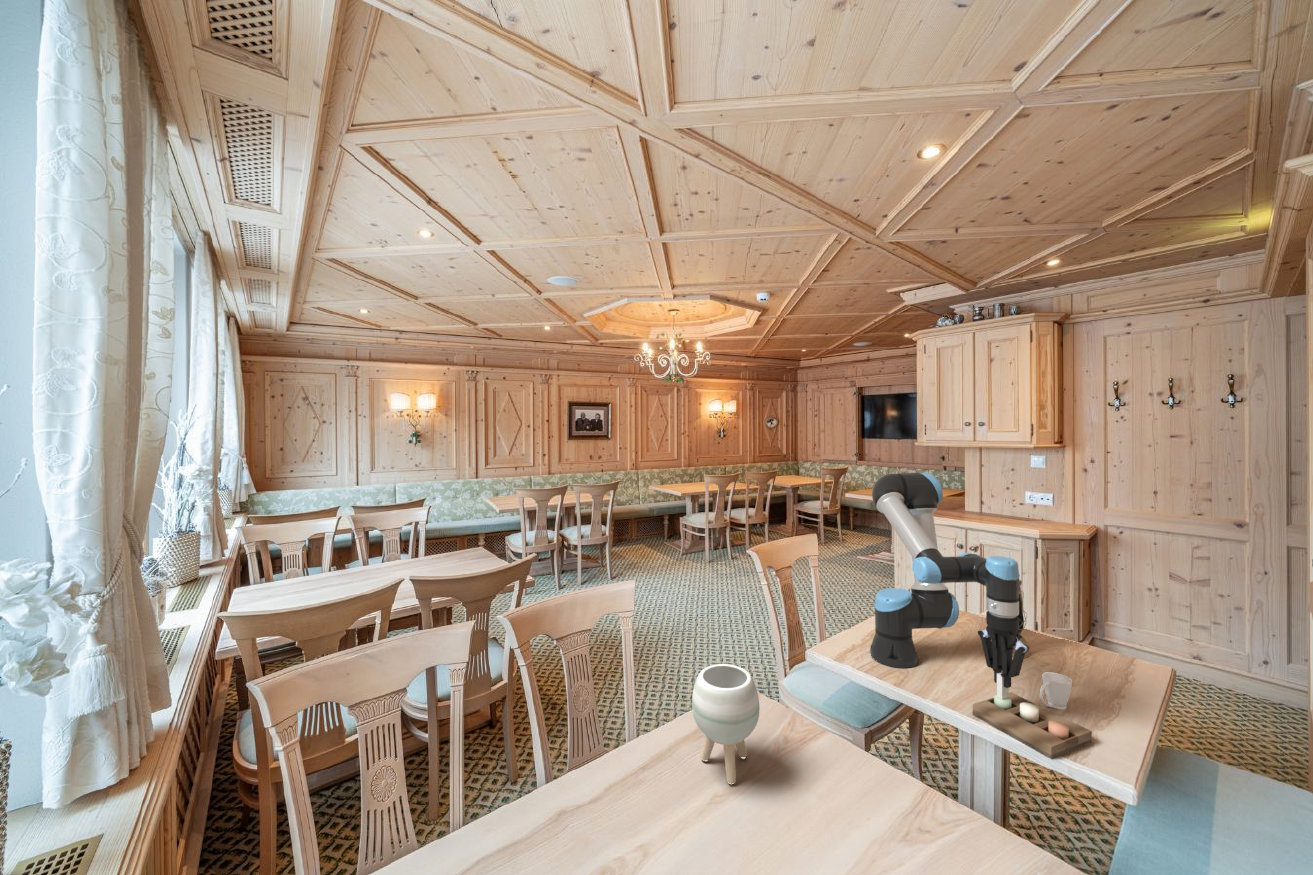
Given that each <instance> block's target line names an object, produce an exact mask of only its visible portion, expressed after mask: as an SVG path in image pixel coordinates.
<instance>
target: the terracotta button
mask: <svg viewBox="0 0 1313 875" xmlns="http://www.w3.org/2000/svg"><path fill="white" fill-rule="evenodd" d="M1048 733H1050V734H1052V735H1054V736H1056V737H1058V738H1060V739H1062V740H1065V739H1068V738H1069V728H1068V726H1067V725H1065V724H1063V723H1061V722H1058V721H1049V722H1048Z"/></svg>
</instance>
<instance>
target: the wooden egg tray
mask: <svg viewBox="0 0 1313 875" xmlns="http://www.w3.org/2000/svg"><path fill="white" fill-rule="evenodd" d="M1009 697H1010V698H1011V709H1008V710H1004V709H1002V708H1000V707H999V706H997V705H995V704H994V697H990V698H988V699H984V700H981V701H979V702H975V703H972V716H974V717H975V718H977V719H980V720H981V721H983V722H985V723H986V724H988V725H990V726H992V727H993V728H996V729H997V730H999V731H1001V732H1003V733H1004V734H1006V735H1008V736H1009V737H1011V738H1012V739H1015V741H1016V740H1017V741H1018V742H1020V743H1022V744H1023V745H1025V746H1027V747H1029V748H1030V749H1032V750H1035V751H1036V752H1038V753H1040V754H1041V755H1043V756H1045V757H1046V758H1048V759H1050V760H1053V759H1055V758H1057V757H1060V756H1062V755H1066V754H1067V753H1071V752H1073V751H1075V750H1077V749H1080V748H1082V747H1085V746H1087V745H1090V744H1091V743H1092V741H1093V740H1092V739H1093V736H1092V735H1093V734H1092V733H1093V732H1092V730H1091V729H1088V728H1086V727H1084V726H1082V725H1080V724H1078V723H1076V722H1073V721H1071V720H1069V718H1066V717H1063V716H1061V715H1060V714H1057V713H1055V712H1053V711H1051V710H1050V709H1046V708H1045V707H1042V706H1040V705H1038V704H1036V703H1035V702H1032V701H1030V700H1028V699H1025V697H1022V696H1020V695H1018V694H1016V693H1014V692H1010V691H1009ZM1020 703H1030V704H1033V705H1035V706H1037V707H1038V709H1039V721H1038V722H1029V721H1026V720H1024V719H1023V718H1021V717H1020ZM1049 721H1058V722H1061V723H1063V724H1065V725H1067V726H1068V728H1069V738H1068V739H1065V740H1062V739H1060V738H1058V737H1056V736H1054V735H1052V734H1050V733H1048V722H1049Z"/></svg>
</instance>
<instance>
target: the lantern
mask: <svg viewBox="0 0 1313 875" xmlns="http://www.w3.org/2000/svg"><path fill="white" fill-rule="evenodd" d="M1022 583H1023V581H1022V580H1021V579H1019V615H1018V617H1019V631H1018V635H1019V637H1020V642H1021V643H1022V644H1023V645H1024V646H1025V645H1027V646H1028V641H1027V640H1026V639H1025V638H1024V636H1023V635H1021V634H1022V633H1023V631H1024V630H1025V628H1026V625H1027V622H1026V621H1027V618H1028V613H1027V612H1026V611H1025V610H1024V599H1023V597H1025V596H1024V592H1023V590H1022V588H1021V586H1022V585H1023V584H1022ZM1025 614H1026V615H1025ZM1015 648H1016V645H1015V646H1014V650H1013V652H1012V658H1013V657H1014V654H1015V651H1016V649H1015ZM1031 655H1032V654H1031V652H1030V649H1029V650H1028V651H1027V652H1026V653H1025V656H1024V659H1027V658H1030V657H1031Z"/></svg>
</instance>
